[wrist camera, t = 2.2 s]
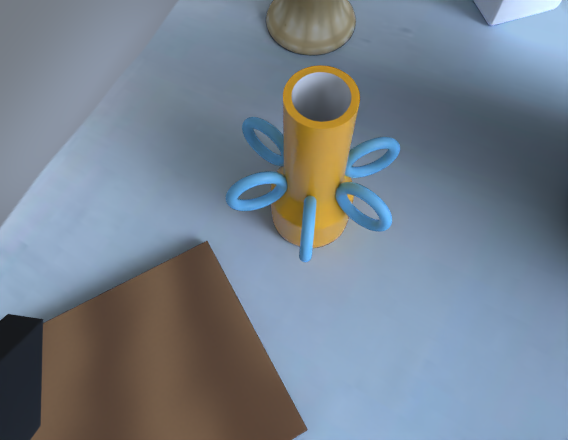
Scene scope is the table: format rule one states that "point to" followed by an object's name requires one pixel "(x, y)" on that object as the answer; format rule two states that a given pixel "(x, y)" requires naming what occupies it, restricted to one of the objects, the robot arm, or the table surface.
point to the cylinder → (315, 162)
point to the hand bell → (311, 24)
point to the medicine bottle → (512, 9)
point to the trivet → (162, 363)
